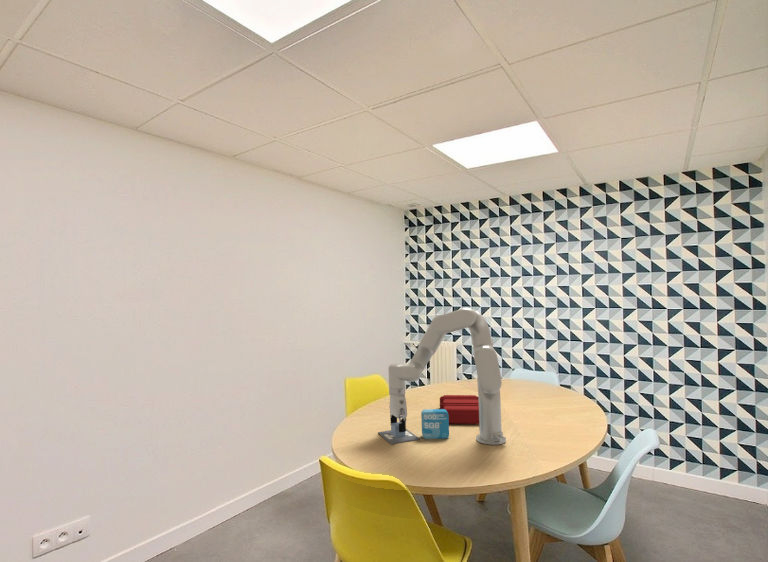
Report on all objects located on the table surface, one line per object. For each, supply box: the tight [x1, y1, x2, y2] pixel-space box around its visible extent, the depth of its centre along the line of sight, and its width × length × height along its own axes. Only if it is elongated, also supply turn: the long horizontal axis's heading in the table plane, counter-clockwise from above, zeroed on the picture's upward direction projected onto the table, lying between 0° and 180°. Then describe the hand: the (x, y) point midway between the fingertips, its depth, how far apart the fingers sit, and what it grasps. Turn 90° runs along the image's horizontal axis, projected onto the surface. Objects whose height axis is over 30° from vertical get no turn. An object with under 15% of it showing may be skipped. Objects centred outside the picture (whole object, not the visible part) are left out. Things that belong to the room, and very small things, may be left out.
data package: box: [420, 408, 450, 440], centre depth 179 cm, size 12×4×12 cm, turn 89°
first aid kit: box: [439, 394, 479, 425], centre depth 211 cm, size 32×23×9 cm
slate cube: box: [390, 421, 406, 438], centre depth 181 cm, size 5×5×5 cm
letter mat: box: [377, 428, 420, 445], centre depth 181 cm, size 16×14×1 cm
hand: (398, 428), depth 181 cm, fingers open, 9 cm apart
